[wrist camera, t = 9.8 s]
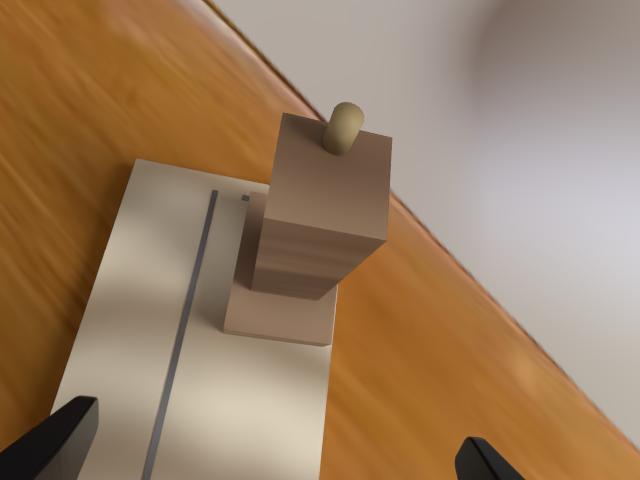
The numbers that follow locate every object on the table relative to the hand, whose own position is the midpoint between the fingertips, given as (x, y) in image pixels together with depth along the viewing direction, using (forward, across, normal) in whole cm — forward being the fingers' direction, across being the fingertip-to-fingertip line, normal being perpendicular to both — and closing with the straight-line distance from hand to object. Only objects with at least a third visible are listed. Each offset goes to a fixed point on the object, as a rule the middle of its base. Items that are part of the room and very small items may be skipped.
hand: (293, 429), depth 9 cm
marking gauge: (+11, 0, +2) cm, 12 cm away
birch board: (+10, +3, +6) cm, 12 cm away
